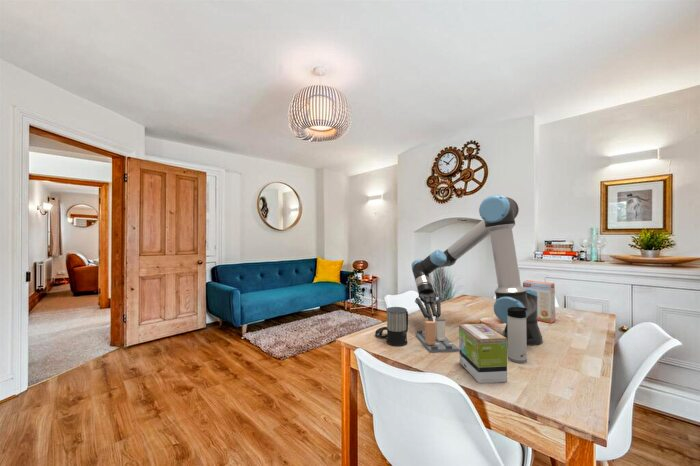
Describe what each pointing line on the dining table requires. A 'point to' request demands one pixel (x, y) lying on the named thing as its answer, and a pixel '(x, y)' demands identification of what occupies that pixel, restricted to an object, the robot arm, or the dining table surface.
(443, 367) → the dining table surface
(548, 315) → the cracker box
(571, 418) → the dining table surface
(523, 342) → the travel mug
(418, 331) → the fader console
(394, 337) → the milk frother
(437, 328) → the ivory fader tab
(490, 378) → the tea box
